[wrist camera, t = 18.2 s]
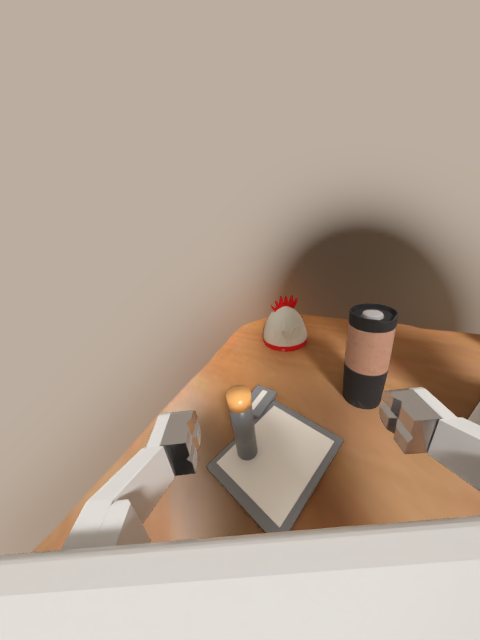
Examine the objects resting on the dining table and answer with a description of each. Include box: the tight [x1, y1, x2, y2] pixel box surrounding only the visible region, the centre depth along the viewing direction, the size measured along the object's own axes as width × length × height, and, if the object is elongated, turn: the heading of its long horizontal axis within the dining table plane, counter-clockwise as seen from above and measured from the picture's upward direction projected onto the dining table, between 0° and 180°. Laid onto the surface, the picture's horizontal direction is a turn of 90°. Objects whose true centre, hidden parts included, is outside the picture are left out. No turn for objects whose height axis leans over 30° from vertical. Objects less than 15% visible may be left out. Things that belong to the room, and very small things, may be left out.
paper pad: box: [206, 400, 344, 533], centre depth 39 cm, size 19×15×1 cm
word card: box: [251, 385, 277, 419], centre depth 50 cm, size 8×5×1 cm, turn 145°
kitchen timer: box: [263, 295, 307, 351], centre depth 70 cm, size 14×14×15 cm
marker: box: [226, 385, 258, 461], centre depth 37 cm, size 4×4×13 cm
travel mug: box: [343, 303, 398, 409], centre depth 44 cm, size 8×8×20 cm
